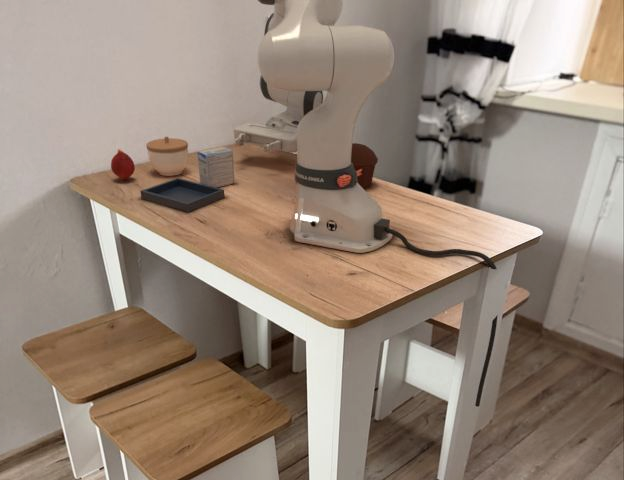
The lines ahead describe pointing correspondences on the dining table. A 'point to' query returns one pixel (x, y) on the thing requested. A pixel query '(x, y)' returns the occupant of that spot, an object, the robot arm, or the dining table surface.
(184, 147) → the trinket box
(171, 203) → the tray
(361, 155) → the muffin
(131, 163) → the onion
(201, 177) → the medicine box
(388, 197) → the dining table surface
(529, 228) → the dining table surface
